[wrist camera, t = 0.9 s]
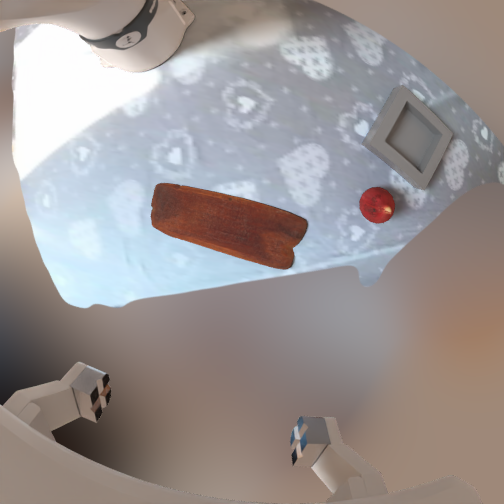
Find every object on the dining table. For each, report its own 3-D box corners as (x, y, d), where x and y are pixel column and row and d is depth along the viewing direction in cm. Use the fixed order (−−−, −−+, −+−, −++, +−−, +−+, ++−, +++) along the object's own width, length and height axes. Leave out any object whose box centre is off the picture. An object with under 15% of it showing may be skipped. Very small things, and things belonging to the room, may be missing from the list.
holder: (414, 187, 43) (424, 190, 39) (361, 144, 41) (369, 143, 37) (442, 133, 39) (453, 133, 35) (393, 88, 37) (402, 85, 34)
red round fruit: (354, 218, 45) (371, 231, 38) (352, 185, 43) (370, 191, 36) (383, 216, 45) (404, 228, 37) (383, 184, 43) (404, 190, 35)
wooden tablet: (309, 217, 46) (310, 219, 44) (289, 270, 49) (290, 273, 48) (158, 174, 44) (155, 175, 42) (147, 228, 47) (143, 231, 46)
